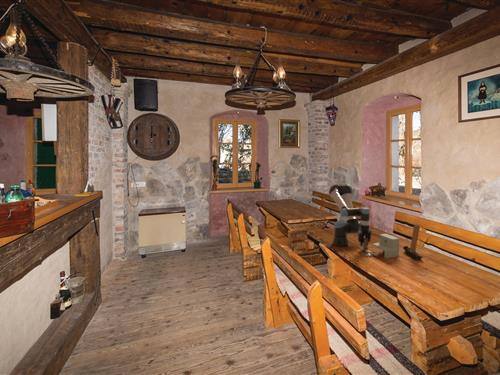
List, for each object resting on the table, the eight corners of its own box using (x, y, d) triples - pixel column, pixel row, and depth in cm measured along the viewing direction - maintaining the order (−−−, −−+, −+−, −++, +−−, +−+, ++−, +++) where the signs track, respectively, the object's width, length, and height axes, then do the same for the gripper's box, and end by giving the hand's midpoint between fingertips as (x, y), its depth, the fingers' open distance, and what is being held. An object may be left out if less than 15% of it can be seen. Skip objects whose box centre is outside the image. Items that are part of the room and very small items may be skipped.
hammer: (422, 262, 225) (428, 230, 216) (416, 262, 225) (422, 230, 216) (408, 250, 244) (413, 219, 235) (402, 250, 244) (407, 220, 235)
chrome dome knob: (363, 254, 241) (363, 253, 240) (369, 254, 241) (369, 252, 241) (367, 257, 235) (367, 255, 235) (373, 256, 235) (373, 254, 235)
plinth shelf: (372, 252, 246) (372, 235, 244) (384, 250, 250) (385, 233, 248) (385, 258, 230) (386, 240, 228) (398, 256, 234) (399, 238, 233)
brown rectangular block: (361, 249, 250) (361, 237, 249) (364, 249, 252) (364, 236, 250) (375, 256, 233) (376, 243, 232) (379, 255, 235) (379, 242, 233)
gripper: (359, 226, 240) (359, 251, 243) (375, 224, 245) (374, 249, 248) (354, 224, 247) (353, 249, 250) (369, 222, 252) (368, 246, 255)
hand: (364, 248), depth 249 cm, fingers closed on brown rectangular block, 4 cm apart
